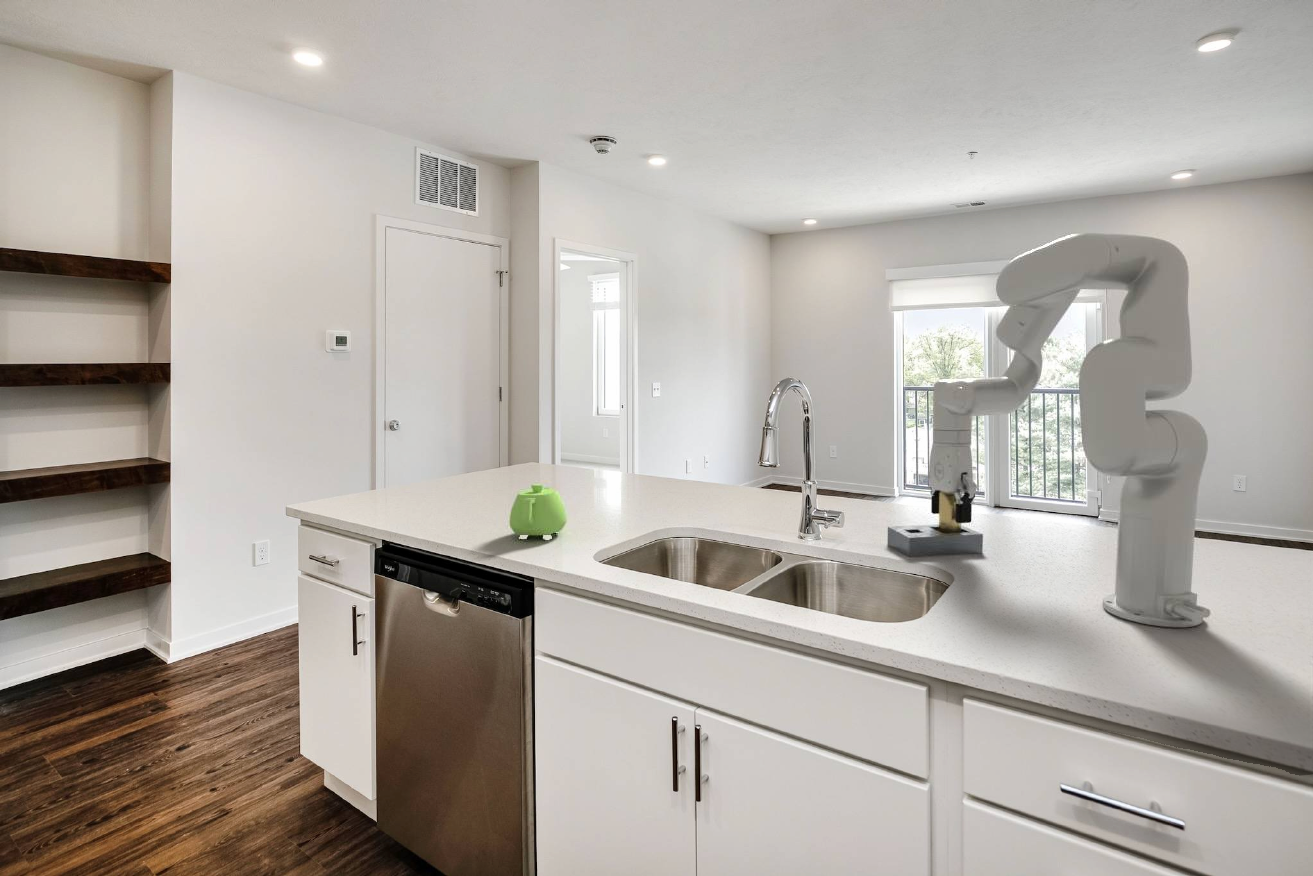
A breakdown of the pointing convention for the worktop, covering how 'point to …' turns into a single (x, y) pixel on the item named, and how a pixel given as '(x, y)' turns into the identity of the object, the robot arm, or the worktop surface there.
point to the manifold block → (933, 541)
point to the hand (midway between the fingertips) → (950, 517)
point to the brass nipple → (948, 513)
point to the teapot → (538, 512)
